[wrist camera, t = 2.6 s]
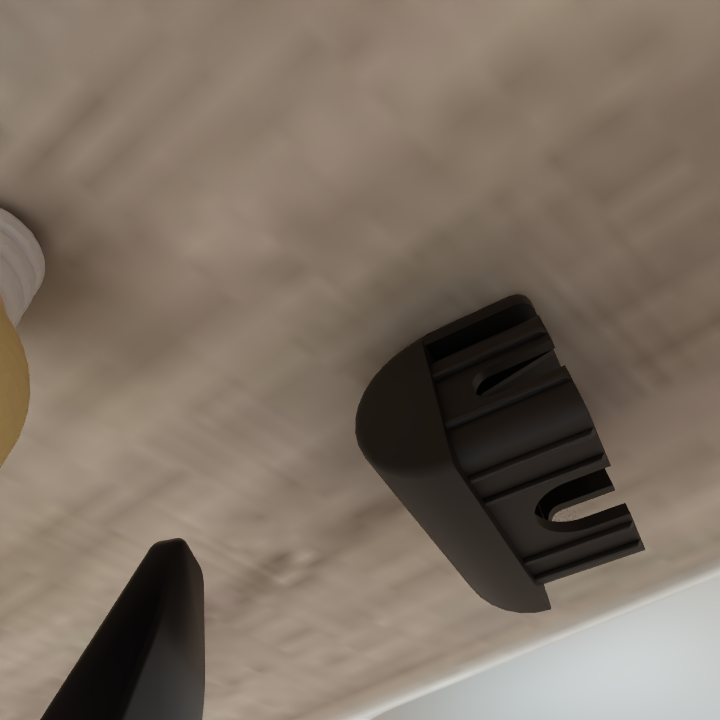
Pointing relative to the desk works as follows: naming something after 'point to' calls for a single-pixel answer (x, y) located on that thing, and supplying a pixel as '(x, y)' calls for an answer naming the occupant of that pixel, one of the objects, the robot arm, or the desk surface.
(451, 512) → the end cap
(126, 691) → the robot arm
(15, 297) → the light bulb
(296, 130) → the desk surface
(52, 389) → the desk surface
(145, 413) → the desk surface
